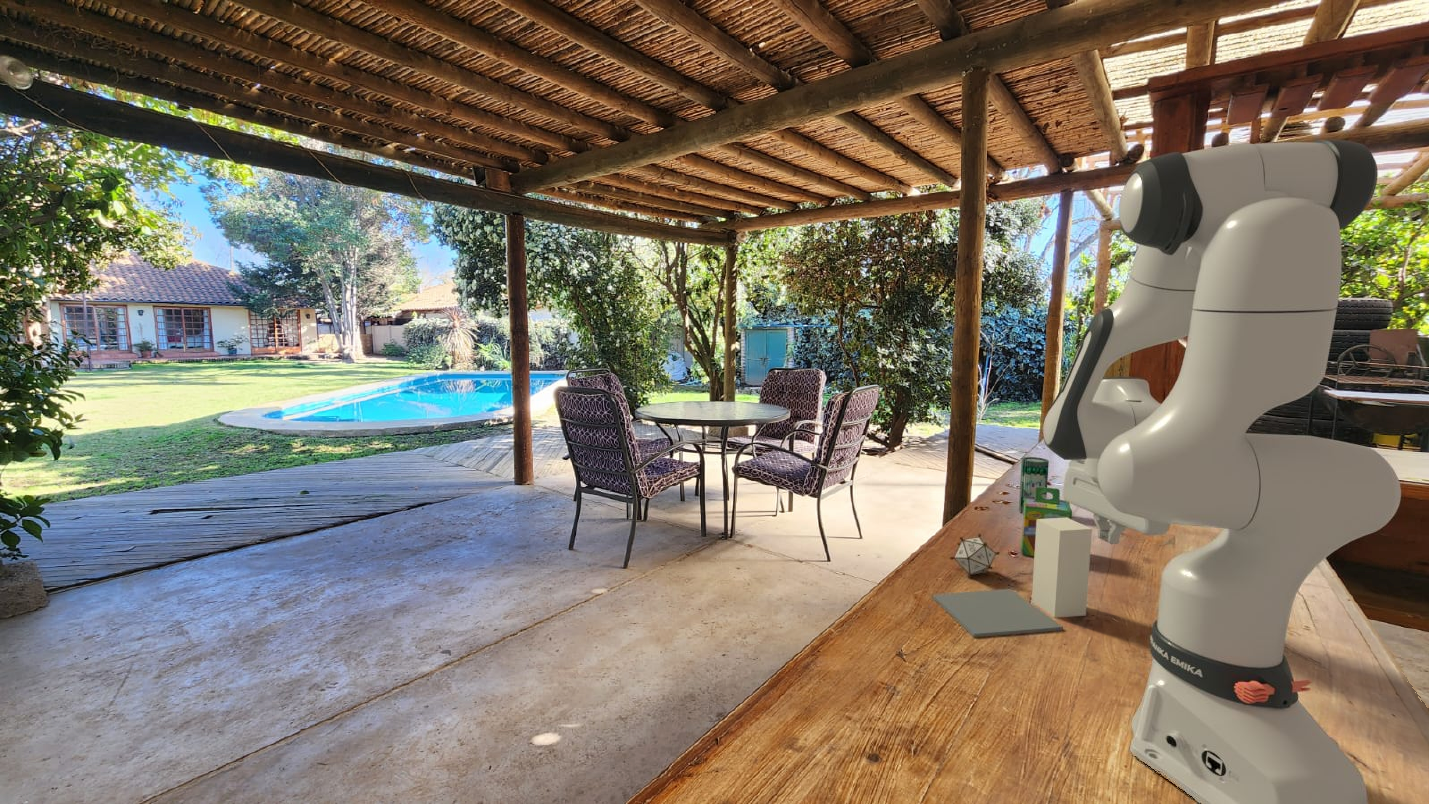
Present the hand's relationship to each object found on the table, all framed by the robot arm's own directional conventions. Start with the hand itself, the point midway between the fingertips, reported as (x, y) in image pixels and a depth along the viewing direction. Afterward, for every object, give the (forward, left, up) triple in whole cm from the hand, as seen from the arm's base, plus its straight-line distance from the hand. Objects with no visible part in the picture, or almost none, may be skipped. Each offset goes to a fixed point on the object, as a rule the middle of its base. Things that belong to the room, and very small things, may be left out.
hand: (1108, 541), depth 101 cm
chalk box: (+24, -6, -12) cm, 28 cm away
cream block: (0, +9, -12) cm, 15 cm away
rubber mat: (0, +22, -12) cm, 25 cm away
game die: (+16, +16, -12) cm, 25 cm away
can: (+49, -21, -12) cm, 55 cm away
